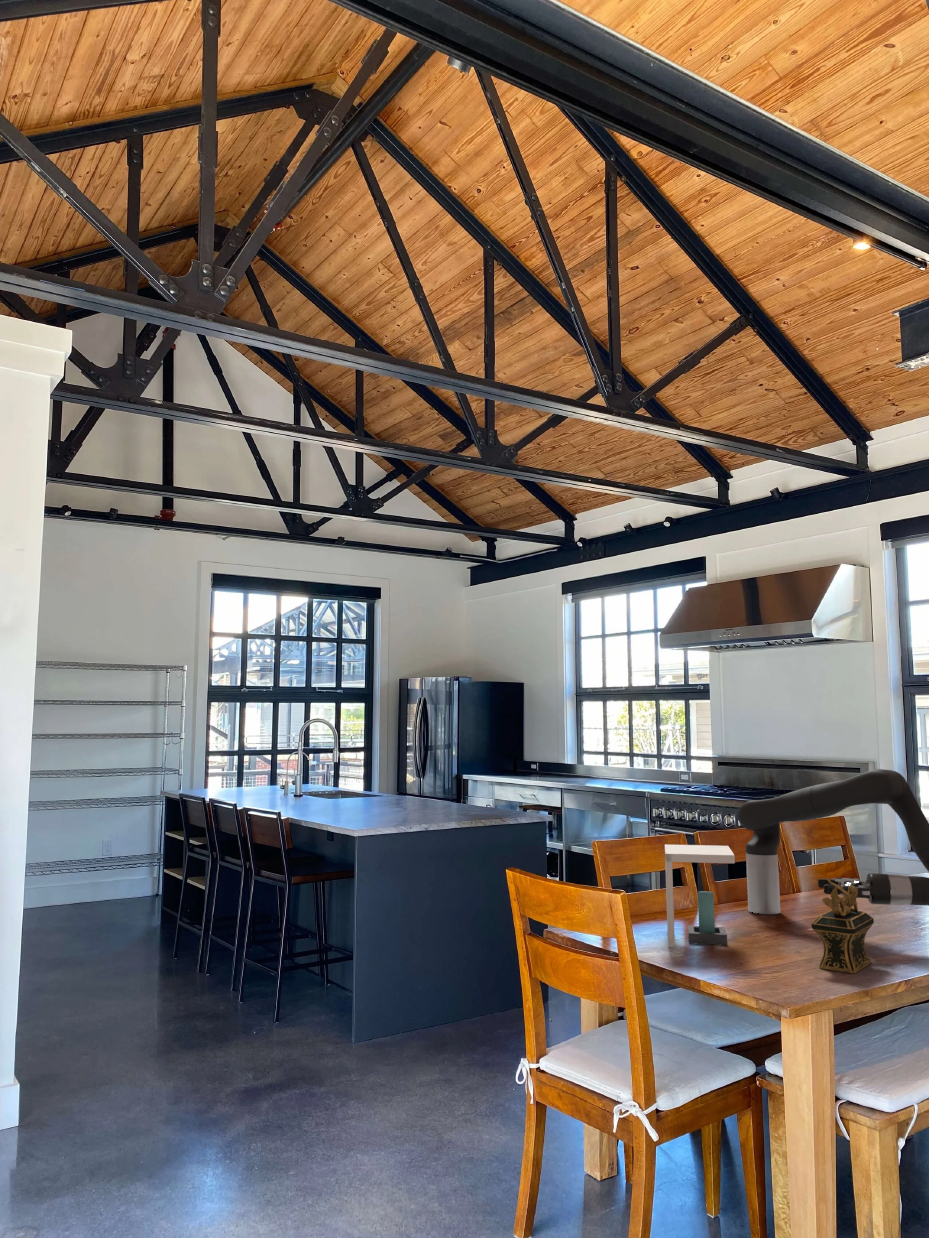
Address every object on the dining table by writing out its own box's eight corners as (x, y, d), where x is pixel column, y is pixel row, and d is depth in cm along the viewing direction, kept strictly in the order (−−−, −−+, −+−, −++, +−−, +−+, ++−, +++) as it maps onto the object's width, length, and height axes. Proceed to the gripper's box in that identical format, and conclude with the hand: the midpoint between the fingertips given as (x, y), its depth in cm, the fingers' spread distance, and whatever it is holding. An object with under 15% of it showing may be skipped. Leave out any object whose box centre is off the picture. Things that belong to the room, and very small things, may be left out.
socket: (687, 935, 236) (687, 925, 236) (724, 936, 234) (724, 926, 234) (689, 943, 227) (688, 933, 227) (727, 944, 225) (727, 934, 225)
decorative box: (835, 955, 213) (830, 872, 216) (877, 962, 207) (872, 875, 210) (806, 972, 198) (801, 882, 201) (851, 980, 192) (845, 886, 195)
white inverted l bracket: (738, 950, 219) (734, 855, 222) (668, 946, 223) (665, 853, 226) (731, 932, 238) (728, 845, 242) (667, 930, 242) (664, 844, 245)
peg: (699, 937, 233) (697, 891, 234) (714, 938, 232) (712, 891, 234) (699, 941, 229) (697, 893, 230) (715, 941, 228) (713, 893, 230)
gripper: (881, 869, 230) (815, 866, 234) (895, 879, 216) (825, 875, 220) (882, 899, 229) (816, 895, 233) (897, 910, 216) (826, 906, 219)
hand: (820, 886), depth 226 cm, fingers open, 8 cm apart
